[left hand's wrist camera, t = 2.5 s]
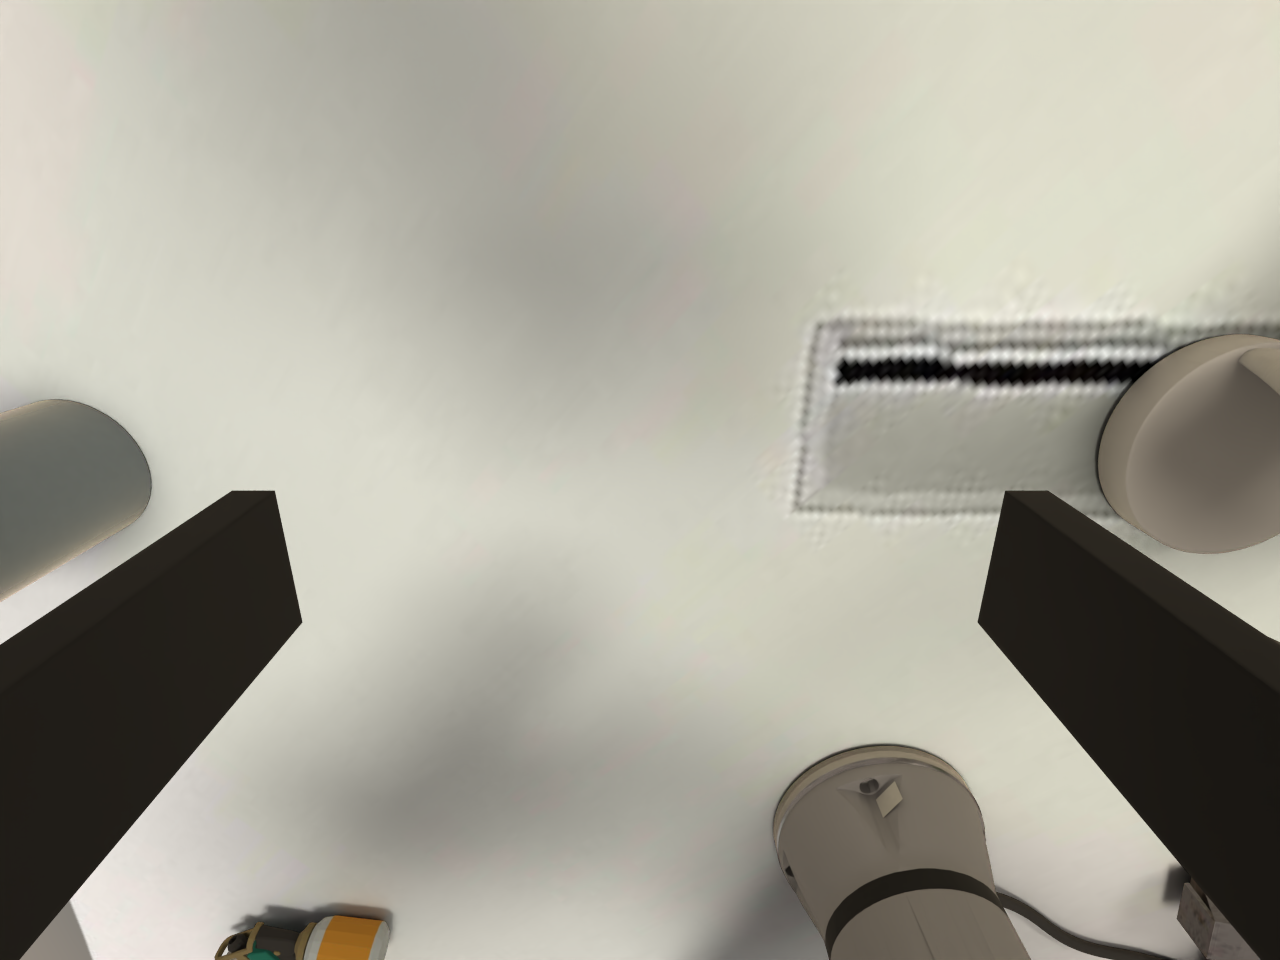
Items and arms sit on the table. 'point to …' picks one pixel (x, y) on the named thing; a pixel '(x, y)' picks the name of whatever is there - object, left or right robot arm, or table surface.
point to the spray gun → (311, 941)
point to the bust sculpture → (1200, 447)
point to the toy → (1210, 927)
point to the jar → (63, 487)
